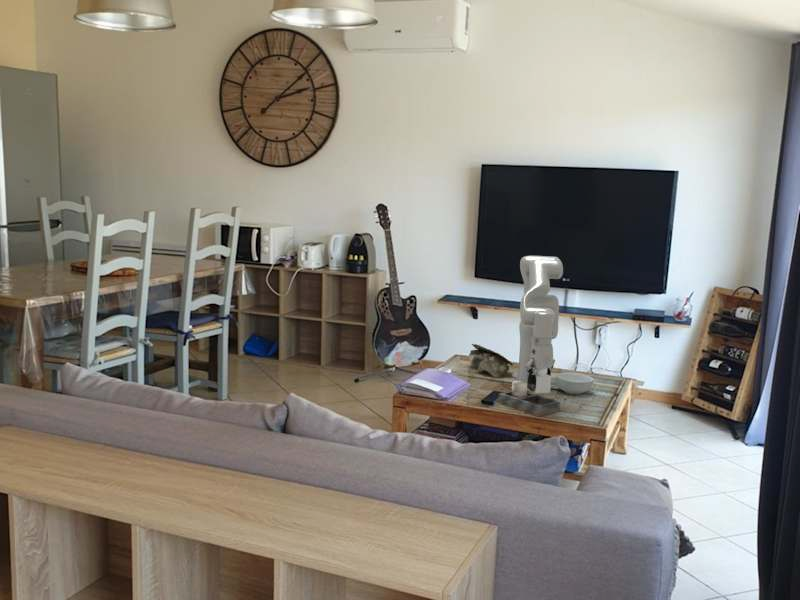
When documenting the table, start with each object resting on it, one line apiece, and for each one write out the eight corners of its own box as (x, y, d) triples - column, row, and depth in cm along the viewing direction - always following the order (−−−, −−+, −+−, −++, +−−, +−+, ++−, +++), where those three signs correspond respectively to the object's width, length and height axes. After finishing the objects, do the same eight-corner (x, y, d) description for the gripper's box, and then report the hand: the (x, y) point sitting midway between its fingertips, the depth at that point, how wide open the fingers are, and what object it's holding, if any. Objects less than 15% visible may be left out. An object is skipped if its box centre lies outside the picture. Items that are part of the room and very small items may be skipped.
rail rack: (498, 402, 341) (499, 382, 339) (519, 397, 349) (520, 377, 348) (539, 416, 324) (540, 394, 322) (560, 410, 332) (561, 389, 331)
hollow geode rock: (471, 374, 406) (454, 354, 400) (487, 355, 409) (470, 335, 403) (501, 386, 381) (483, 365, 375) (518, 367, 383) (500, 346, 378)
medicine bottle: (526, 389, 334) (528, 361, 332) (541, 388, 336) (543, 360, 334) (535, 393, 327) (536, 365, 325) (550, 392, 330) (552, 364, 328)
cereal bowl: (592, 398, 352) (593, 383, 351) (554, 395, 355) (555, 380, 354) (591, 388, 368) (592, 373, 367) (554, 385, 372) (555, 370, 370)
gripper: (535, 345, 320) (532, 387, 322) (562, 340, 331) (560, 381, 333) (521, 341, 325) (518, 382, 328) (548, 337, 336) (546, 377, 339)
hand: (539, 381), depth 331 cm, fingers closed on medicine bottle, 9 cm apart
